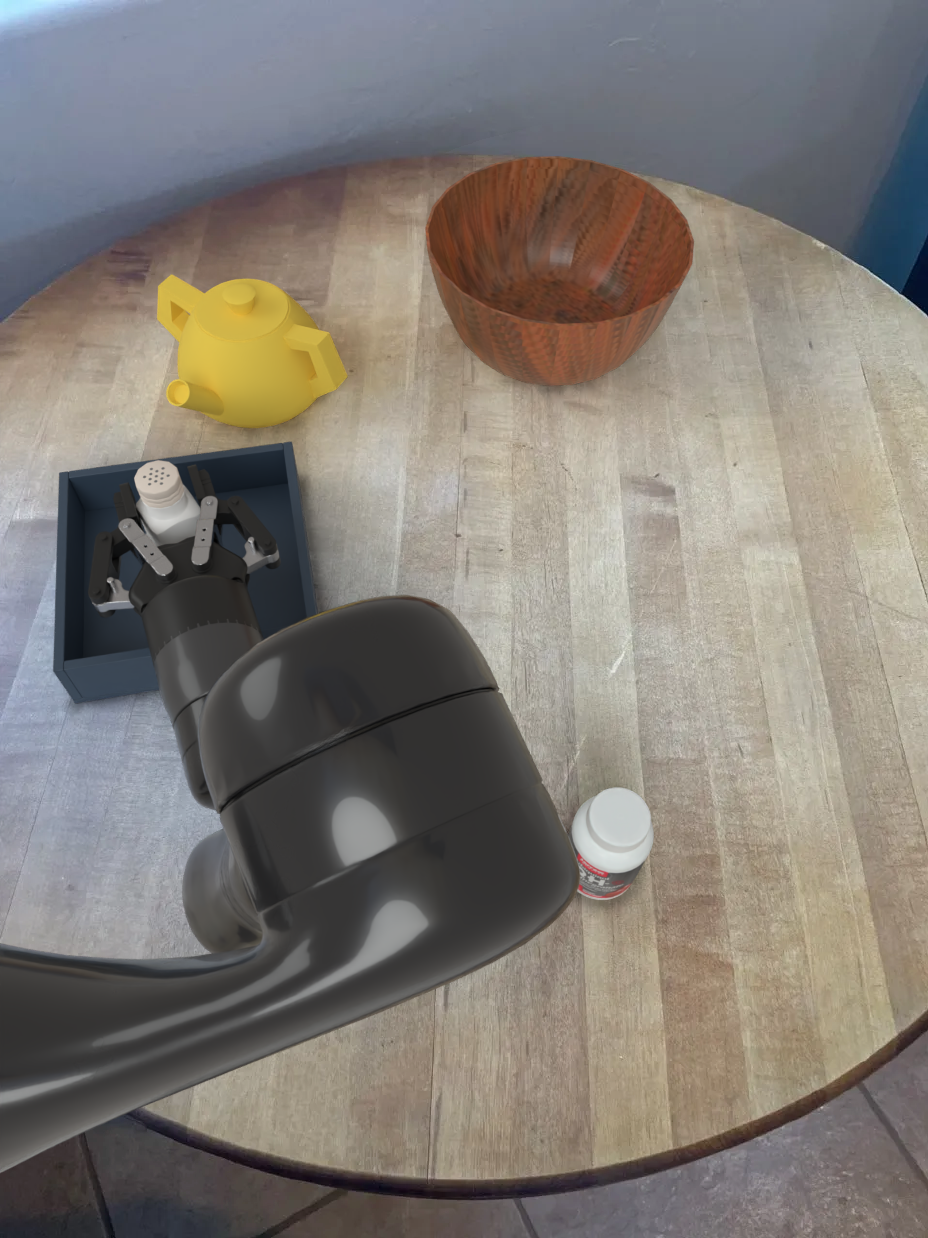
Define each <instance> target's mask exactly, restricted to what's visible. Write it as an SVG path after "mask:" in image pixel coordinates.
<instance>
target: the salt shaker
mask: <svg viewBox="0 0 928 1238" xmlns="http://www.w3.org/2000/svg"><path fill="white" fill-rule="evenodd" d="M134 480H135V484H136V488H137V490H138V492H139V495H140V499H139V501H138V502H137V503H136V508H137V511H138V513H139V516H140V518H141V521H142V523H143V526H144V528H145V531H146V533H147V535H148V536H149V538H150V539H151V540H152V541H153V543H154V544H155V545H156V546H160V545H164V544H172V543H178V542H180V541H182V540H184V539H186V538H189V537H192V536H195V533H196V525H197V519H199V517H200V507H199V505H198V504H197V502H196V501H195V499H194V498H193V496H192V495H191V493H190V492H189V491H188V489H187V488H186V487H185V486H184V485H183V484H182V481H181V478H180V475H179V472H178V469H177V467H175V466H174V465H173V464H171V463H170V462H167V461H160V460H157V461H153V462H149V463H146V464H145V465H144V466H142V467H141V468H140V469H138V471H137V473H136V475H135V477H134Z"/></svg>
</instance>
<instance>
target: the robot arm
mask: <svg viewBox="0 0 928 1238" xmlns="http://www.w3.org/2000/svg"><path fill="white" fill-rule="evenodd" d="M187 468H188V471H189V474H190V477H191V481H192V484H193V487H194V490H195V494H196V497H197V500H198V503H199V506H200V517H199V519H197V525H196V533H195V536H192V537H189V538H186V539H184V540H182V541H180V542H178V543H172V544H164V545H160V546H156V545H155V544H154V543H153V541H152V540H151V539H150V538H149V536H148V535H147V534H145V533H144V530H143V526H142V522H141V518H140V516H139V513H138V511H137V508H136V500H135V497H134V494H133V492H132V490H131V487H130V485H129V483H124V484H120V485H119V487H120V492H117V493H114V497H113V500H114V504H115V508H116V512H117V516H118V520H119V525H118V527H117V528H116V529H115V530H114V531H112V532H107V531H104V532H100V533H99V534H98V535H97V536H96V538H95V545H94V552H93V559H92V567H91V574H90V582H89V589H88V595H89V597H90V599H91V601H92V603H93V605H94V607H95V609H96V610H97V612H98V613H99V615H100V616H101V617H104V618H107V617H110V616H112V615H113V614H114V613H115V610H117V609H131V608H133V609H134V611H135V612H136V613H137V614H138V615H140V616H141V617H142V622H143V626H144V630H145V634H146V638H147V642H148V646H149V650H150V654H151V658H152V662H153V666H154V670H155V673H156V677H157V682H158V686H159V690H158V691H159V693H160V697H161V701H162V704H163V706H164V709H165V712H166V713H167V716H168V718H169V720H170V723H171V726H172V729H173V732H174V737H175V740H176V744H177V748H178V753H179V756H180V760H181V763H182V769H183V773H184V776H185V780H186V784H187V787H188V790H189V792H190V795H191V796H192V798H193V799H194V800H195V802H196V803H197V804H198V805H200V806H201V807H202V808H205V809H208V810H211V811H215V812H216V814H218V815H219V822H220V824H221V827H222V828H221V829H219V830H217V831H214V832H213V833H211V834H208V835H207V836H205V837H203V838H202V839H201V840H200V841H198V843H196V845H195V846H194V847H193V849H192V850H191V852H190V854H189V855H188V858H187V860H186V863H185V866H184V870H183V875H182V883H181V900H182V906H183V910H184V914H185V918H186V921H187V924H188V926H189V928H190V930H191V932H192V934H193V936H194V937H195V939H196V940H197V941H198V942H199V943H200V945H201V946H202V947H203V948H204V949H205V950H206V951H207V952H209V953H205V954H199V955H194V956H192V955H191V956H177V957H161V958H159V957H158V958H119V957H101V956H88V955H87V956H85V955H72V954H63V953H58V952H57V953H56V952H51V951H42V950H36V949H31V948H26V947H22V946H18V945H17V946H16V945H12V944H6V943H2V942H0V1174H1V1173H3V1172H5V1171H7V1170H9V1169H12V1168H13V1167H15V1166H17V1165H20V1164H21V1163H23V1162H25V1161H27V1160H29V1159H32V1158H34V1157H36V1156H37V1155H40V1154H41V1153H44V1152H46V1151H47V1150H49V1149H52V1148H54V1147H56V1146H58V1145H61V1144H63V1143H64V1142H67V1141H69V1140H71V1139H73V1138H75V1137H77V1136H79V1135H82V1134H84V1133H86V1132H88V1131H90V1130H93V1129H95V1128H97V1127H99V1126H101V1125H104V1124H106V1123H108V1122H111V1121H113V1120H115V1119H118V1118H120V1117H122V1116H125V1115H127V1114H130V1113H132V1112H134V1111H136V1110H139V1109H142V1108H144V1107H146V1106H148V1105H152V1104H154V1103H155V1102H158V1101H161V1100H163V1099H166V1098H168V1097H171V1096H173V1095H175V1094H178V1093H181V1092H184V1091H186V1090H188V1089H191V1088H193V1087H196V1086H198V1085H201V1084H203V1083H206V1082H208V1081H210V1080H214V1079H216V1078H218V1077H221V1076H222V1075H226V1074H228V1073H231V1072H234V1071H236V1070H239V1069H240V1068H244V1067H245V1066H249V1065H251V1064H253V1063H255V1062H258V1061H262V1060H263V1059H266V1058H268V1057H271V1056H274V1055H276V1054H279V1053H282V1052H284V1051H286V1050H289V1049H291V1048H294V1047H296V1046H299V1045H301V1044H304V1043H307V1042H310V1041H311V1040H313V1039H317V1038H319V1037H321V1036H324V1035H327V1034H329V1033H332V1032H334V1031H337V1030H339V1029H342V1028H345V1027H347V1026H350V1025H352V1024H355V1023H358V1022H360V1021H363V1020H365V1019H367V1018H370V1017H373V1016H376V1015H378V1014H380V1013H382V1012H385V1011H388V1010H389V1009H392V1008H394V1007H397V1006H399V1005H401V1004H404V1003H406V1002H408V1001H411V1000H413V999H416V998H419V997H420V996H423V995H425V994H427V993H430V992H433V991H435V990H437V989H439V988H441V987H445V986H447V985H448V984H451V983H454V982H456V981H458V980H461V979H463V978H465V977H466V976H469V975H471V974H473V973H475V972H477V971H478V970H481V969H483V968H485V967H487V966H489V965H491V964H493V963H495V962H497V961H499V960H500V959H502V958H504V957H505V956H507V955H509V954H511V953H513V952H514V951H516V950H517V949H519V948H521V947H522V946H524V945H526V944H527V943H529V942H531V940H533V939H534V938H536V937H537V936H538V935H540V934H541V933H542V932H543V931H545V930H546V929H547V928H549V927H551V925H552V924H553V923H555V922H556V920H558V919H559V918H560V917H561V915H563V913H564V912H565V911H566V910H567V909H568V908H569V906H570V905H571V904H572V903H573V900H574V899H575V897H576V895H577V893H578V891H577V890H578V887H579V883H580V868H579V864H578V861H577V858H576V855H575V852H574V849H573V846H572V844H571V841H570V839H569V837H568V835H569V833H568V832H567V830H566V828H565V825H564V823H563V821H562V819H561V816H560V814H559V812H558V809H557V808H556V806H555V803H554V801H553V799H552V797H551V795H550V793H549V791H548V790H547V788H546V786H545V784H544V783H543V781H544V780H543V778H542V775H541V774H540V771H539V769H538V767H537V765H536V763H535V760H534V758H533V756H532V754H531V752H530V750H529V747H528V746H527V744H526V742H525V739H524V737H523V735H522V733H521V731H520V728H519V727H518V724H517V722H516V720H515V718H514V716H513V714H512V712H511V709H510V707H509V705H508V703H507V701H506V699H505V696H504V694H503V693H502V692H500V687H499V684H498V682H497V679H496V678H495V675H494V673H493V672H492V669H491V668H490V664H489V663H488V661H487V660H486V657H485V656H484V654H483V652H482V651H481V649H480V647H479V646H478V644H477V643H476V641H475V640H474V638H473V637H472V635H471V634H470V632H469V631H468V630H467V629H466V627H465V626H464V625H463V624H462V622H461V621H460V619H458V618H457V616H456V615H455V614H454V613H453V612H452V611H451V610H450V609H448V608H447V607H446V606H443V605H442V604H440V603H438V602H436V601H434V600H432V599H429V598H426V597H421V596H416V595H409V594H394V595H380V596H375V597H374V596H373V597H370V598H365V599H360V600H359V599H358V600H355V601H353V602H348V603H346V604H343V605H339V606H336V607H333V608H329V609H326V610H324V611H320V612H318V614H315V615H312V616H310V617H307V618H305V619H303V620H301V621H298V622H296V623H294V624H292V625H290V626H288V627H285V628H283V629H281V630H279V631H277V632H276V633H274V634H272V635H271V636H269V637H267V638H266V639H264V638H263V635H262V632H261V629H260V626H259V623H258V620H257V617H256V614H255V610H254V607H253V604H252V601H251V598H250V595H249V592H248V583H249V580H250V574H251V573H253V572H254V571H256V570H258V569H260V568H262V567H264V566H266V567H267V568H269V569H275V568H278V567H279V566H280V564H281V560H280V556H279V551H278V547H277V543H276V540H275V538H274V537H273V536H272V535H271V533H270V532H269V531H268V530H267V529H266V527H265V526H264V525H263V524H262V522H261V521H260V520H259V519H258V517H257V516H256V515H255V514H254V512H253V511H252V510H251V509H250V507H249V506H248V505H247V504H246V502H245V501H244V500H243V499H242V498H241V497H240V496H232V497H230V498H229V499H228V500H221V499H219V498H217V497H216V495H215V491H214V488H213V485H212V482H211V479H210V476H209V473H208V472H207V471H206V470H205V469H203V470H200V471H198V469H197V466H196V465H192V466H189V467H187ZM224 524H233V525H234V527H235V528H236V529H237V530H238V532H239V533H240V534H241V535H242V537H243V538H244V539H245V541H246V543H245V550H246V555H245V556H244V557H243V558H241V557H240V556H238V555H236V554H234V553H233V552H231V551H229V550H227V549H226V548H224V547H223V543H222V534H223V525H224ZM128 551H131V552H132V554H133V555H134V556H135V558H136V559H137V560H138V561H139V563H140V564H141V566H142V568H141V570H140V572H139V573H138V575H137V577H136V579H135V581H134V582H133V584H132V586H131V588H130V590H129V591H127V590H125V589H124V587H123V585H122V583H121V581H120V580H119V575H120V567H121V558H122V556H121V555H123V554H125V553H127V552H128Z"/></svg>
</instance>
